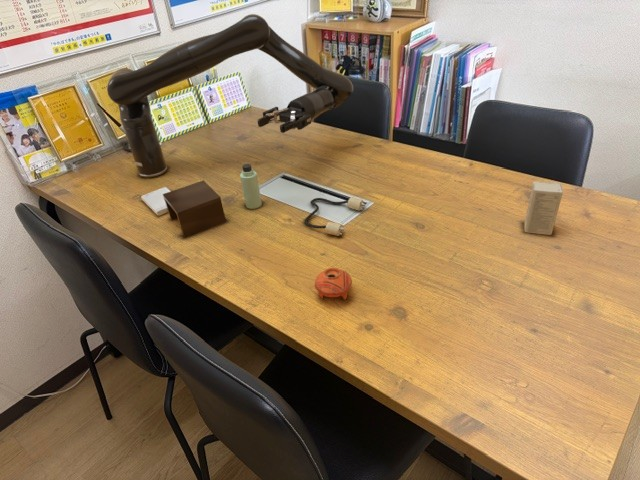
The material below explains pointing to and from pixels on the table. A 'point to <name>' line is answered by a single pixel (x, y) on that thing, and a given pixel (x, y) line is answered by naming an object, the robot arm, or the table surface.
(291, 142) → the table surface
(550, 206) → the cosmetic box
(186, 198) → the stand
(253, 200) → the bottle
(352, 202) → the cable
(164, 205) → the hard drive
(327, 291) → the pot
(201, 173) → the table surface
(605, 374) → the table surface
